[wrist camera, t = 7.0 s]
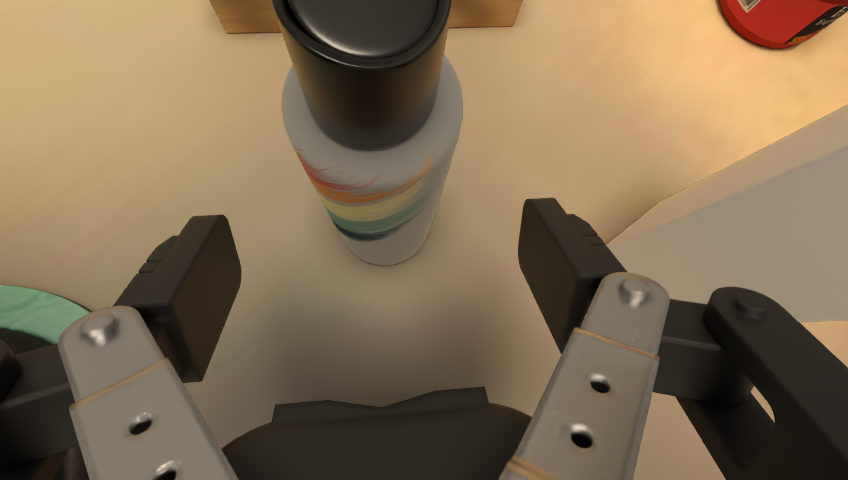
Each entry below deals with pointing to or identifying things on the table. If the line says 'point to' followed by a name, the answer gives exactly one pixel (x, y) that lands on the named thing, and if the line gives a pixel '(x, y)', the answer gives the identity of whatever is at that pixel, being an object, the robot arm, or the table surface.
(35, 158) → the table surface
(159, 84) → the table surface
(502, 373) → the table surface
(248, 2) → the wall panel
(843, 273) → the milk
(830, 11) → the canned food
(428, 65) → the lotion bottle
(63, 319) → the chocolate cake
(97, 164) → the table surface
